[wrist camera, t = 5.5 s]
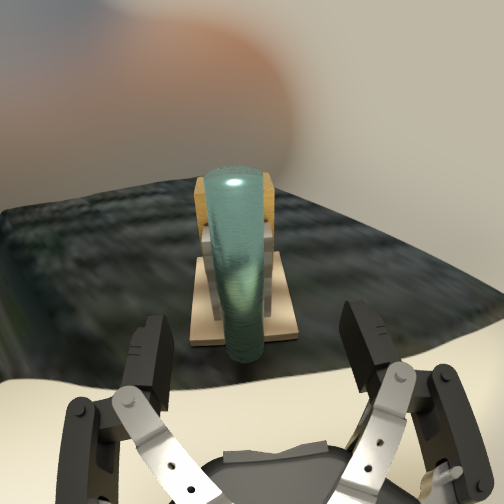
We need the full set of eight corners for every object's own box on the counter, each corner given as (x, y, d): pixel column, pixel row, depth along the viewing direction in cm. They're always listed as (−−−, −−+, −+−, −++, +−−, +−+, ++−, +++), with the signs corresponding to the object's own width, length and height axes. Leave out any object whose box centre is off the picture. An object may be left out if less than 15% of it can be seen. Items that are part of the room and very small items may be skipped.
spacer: (273, 270, 31) (274, 188, 26) (205, 275, 31) (193, 193, 25) (268, 248, 34) (268, 172, 29) (207, 252, 34) (197, 177, 29)
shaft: (265, 361, 23) (266, 185, 14) (226, 364, 23) (201, 189, 14) (249, 241, 37) (245, 120, 28) (224, 242, 37) (214, 122, 28)
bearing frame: (297, 338, 30) (308, 252, 23) (191, 346, 29) (168, 262, 23) (278, 257, 41) (280, 183, 35) (198, 262, 41) (187, 189, 34)
